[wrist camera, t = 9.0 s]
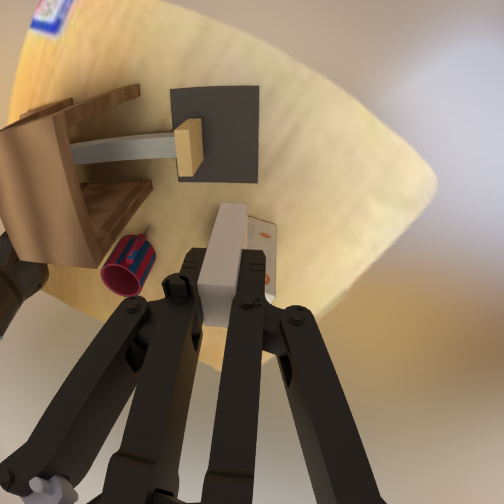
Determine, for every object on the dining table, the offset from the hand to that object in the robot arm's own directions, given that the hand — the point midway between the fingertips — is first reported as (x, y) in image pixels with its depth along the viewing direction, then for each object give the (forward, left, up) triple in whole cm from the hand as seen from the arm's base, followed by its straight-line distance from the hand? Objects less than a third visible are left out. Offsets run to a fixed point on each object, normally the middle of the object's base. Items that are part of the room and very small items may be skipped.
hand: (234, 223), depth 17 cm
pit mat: (-5, 0, -19) cm, 19 cm away
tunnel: (-24, 0, -19) cm, 30 cm away
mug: (-18, -17, -19) cm, 31 cm away
